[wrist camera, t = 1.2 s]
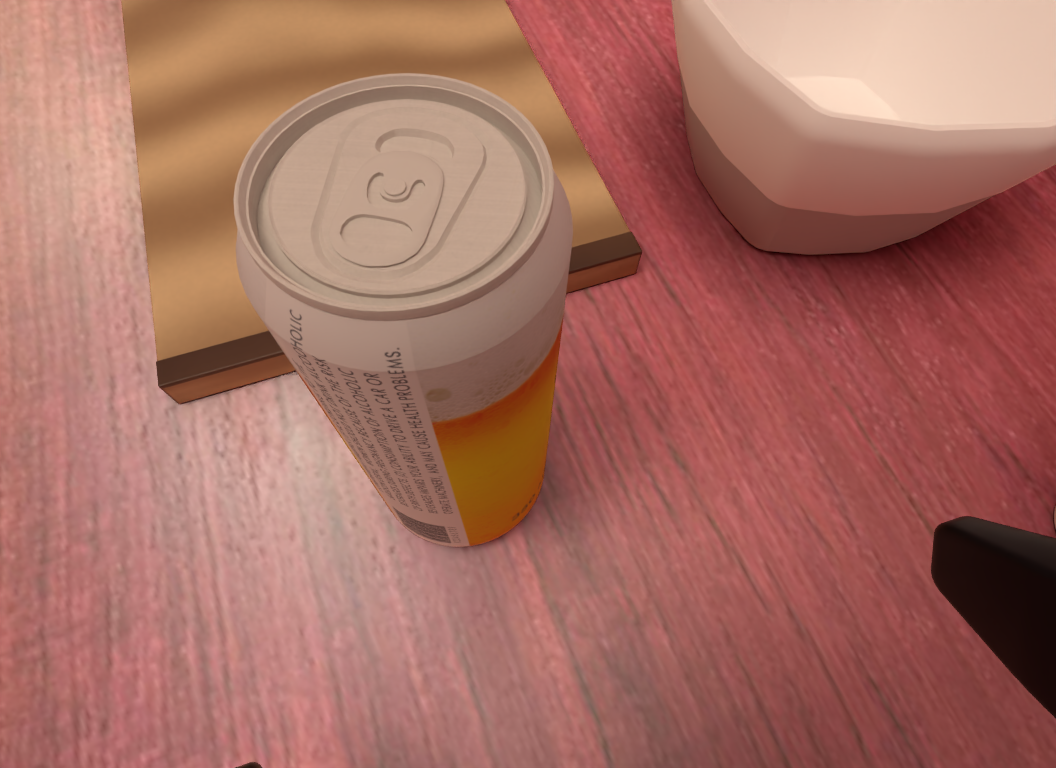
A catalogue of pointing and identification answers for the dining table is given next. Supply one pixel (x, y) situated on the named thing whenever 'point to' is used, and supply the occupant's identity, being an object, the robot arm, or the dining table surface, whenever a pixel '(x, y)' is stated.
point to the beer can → (416, 288)
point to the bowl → (863, 112)
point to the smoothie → (1055, 516)
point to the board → (261, 97)
